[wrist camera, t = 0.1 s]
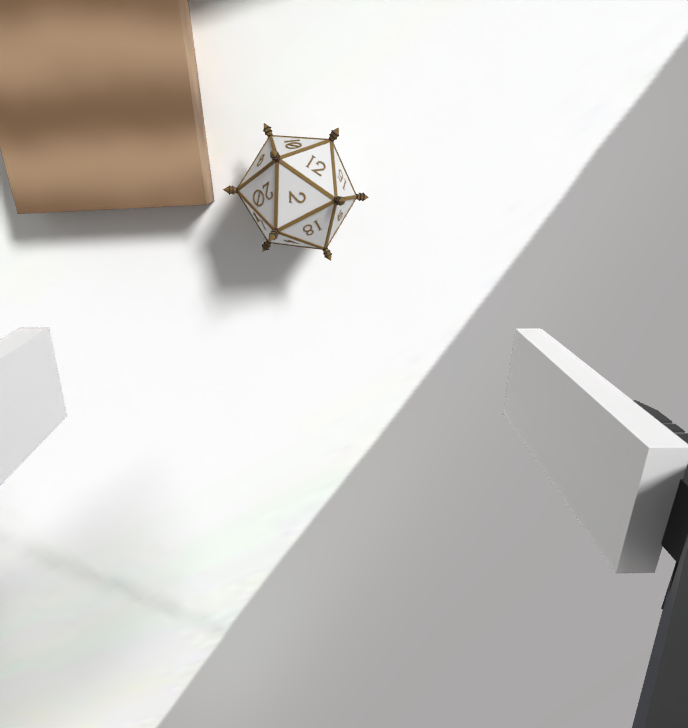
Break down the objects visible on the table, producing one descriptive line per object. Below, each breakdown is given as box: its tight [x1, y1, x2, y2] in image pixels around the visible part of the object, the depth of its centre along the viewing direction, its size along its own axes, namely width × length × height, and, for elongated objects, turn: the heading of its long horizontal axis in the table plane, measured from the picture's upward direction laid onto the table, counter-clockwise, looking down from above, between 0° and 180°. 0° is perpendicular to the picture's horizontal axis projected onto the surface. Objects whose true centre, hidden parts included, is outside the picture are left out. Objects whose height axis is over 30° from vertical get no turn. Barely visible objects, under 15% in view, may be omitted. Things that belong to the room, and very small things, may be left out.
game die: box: [223, 123, 368, 260], centre depth 36 cm, size 9×8×10 cm
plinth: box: [0, 0, 214, 214], centre depth 36 cm, size 13×13×3 cm
